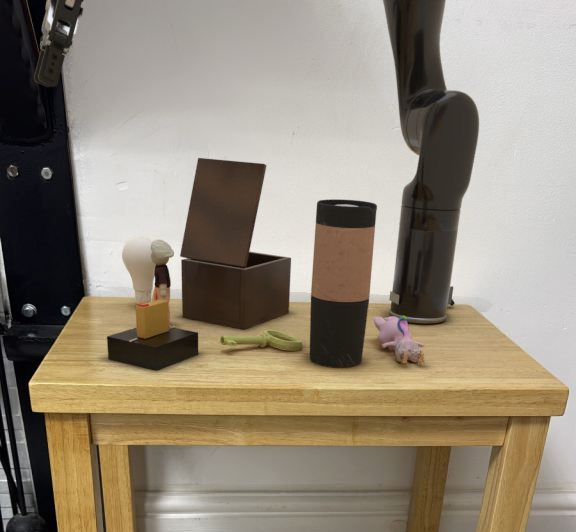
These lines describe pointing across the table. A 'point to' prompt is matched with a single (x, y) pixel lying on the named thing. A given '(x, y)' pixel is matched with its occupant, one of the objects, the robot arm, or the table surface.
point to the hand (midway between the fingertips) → (44, 84)
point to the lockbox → (236, 290)
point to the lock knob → (152, 318)
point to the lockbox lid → (223, 211)
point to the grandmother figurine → (161, 271)
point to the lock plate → (153, 348)
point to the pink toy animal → (398, 339)
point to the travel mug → (341, 281)
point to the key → (265, 340)
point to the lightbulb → (140, 266)
